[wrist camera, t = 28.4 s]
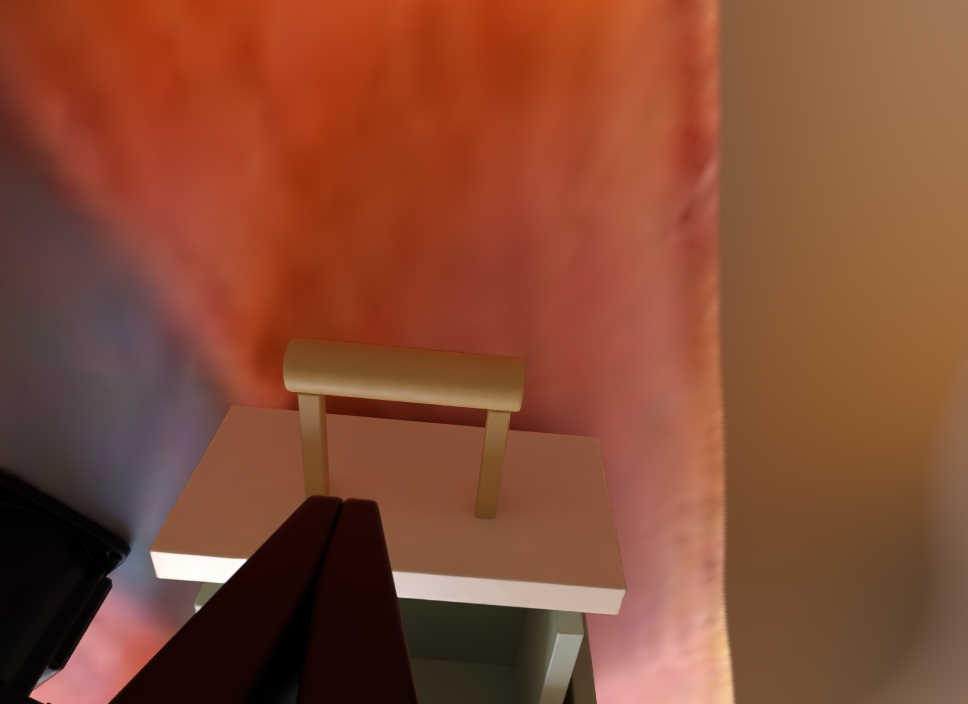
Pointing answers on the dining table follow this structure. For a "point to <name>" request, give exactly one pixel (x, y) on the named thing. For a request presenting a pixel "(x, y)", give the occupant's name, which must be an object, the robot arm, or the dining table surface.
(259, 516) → the drawer
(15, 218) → the dining table surface
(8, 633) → the robot arm
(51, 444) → the dining table surface
